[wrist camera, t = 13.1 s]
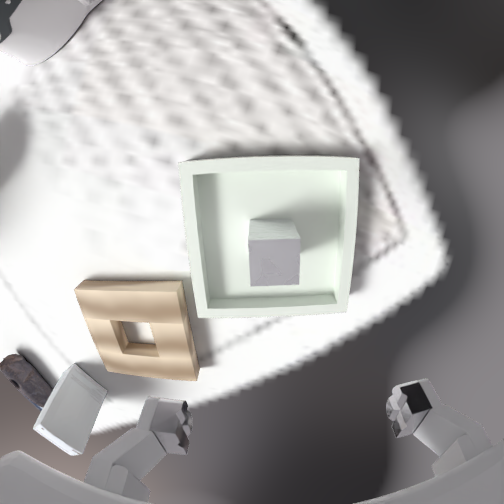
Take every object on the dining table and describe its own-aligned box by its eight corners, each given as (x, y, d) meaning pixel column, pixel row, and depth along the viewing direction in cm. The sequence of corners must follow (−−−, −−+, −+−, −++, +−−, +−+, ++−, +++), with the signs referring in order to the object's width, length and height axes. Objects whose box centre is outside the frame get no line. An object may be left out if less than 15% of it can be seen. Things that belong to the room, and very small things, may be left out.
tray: (186, 160, 25) (178, 162, 23) (348, 156, 25) (359, 158, 22) (202, 303, 31) (197, 318, 29) (339, 298, 31) (346, 312, 28)
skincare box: (64, 370, 38) (29, 426, 25) (75, 361, 37) (37, 423, 23) (97, 398, 41) (69, 457, 27) (111, 391, 39) (82, 456, 26)
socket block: (83, 280, 31) (74, 289, 28) (182, 280, 30) (176, 291, 28) (113, 360, 36) (107, 371, 34) (199, 368, 36) (196, 381, 33)
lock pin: (249, 219, 27) (248, 240, 21) (291, 218, 26) (300, 238, 21) (251, 257, 28) (250, 286, 23) (291, 256, 28) (299, 284, 22)
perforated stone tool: (65, 396, 42) (52, 418, 36) (55, 397, 43) (43, 418, 37) (18, 343, 37) (1, 364, 31) (11, 348, 38) (-5, 367, 32)
